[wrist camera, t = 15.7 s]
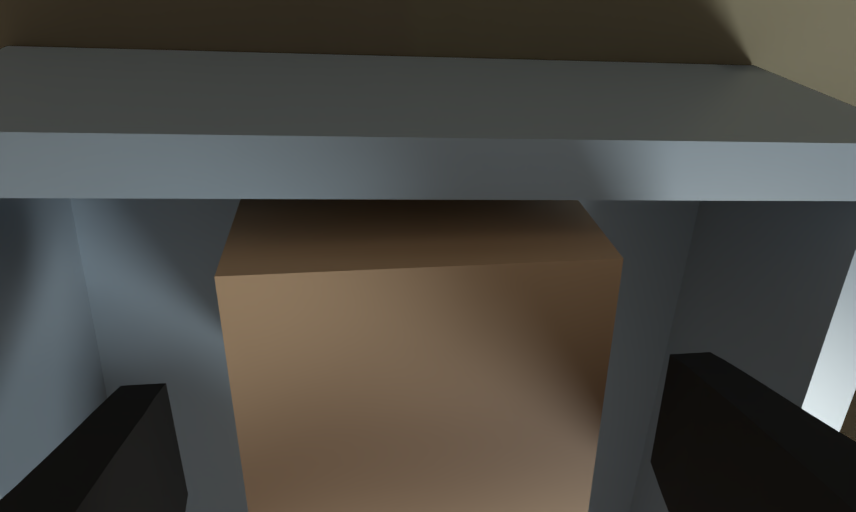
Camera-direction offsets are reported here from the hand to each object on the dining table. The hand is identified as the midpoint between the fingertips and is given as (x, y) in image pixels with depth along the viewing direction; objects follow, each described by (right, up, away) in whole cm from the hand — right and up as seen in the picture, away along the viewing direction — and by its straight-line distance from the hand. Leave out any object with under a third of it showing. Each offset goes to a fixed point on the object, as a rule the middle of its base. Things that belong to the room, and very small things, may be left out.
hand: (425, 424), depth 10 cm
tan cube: (-1, +2, +4) cm, 5 cm away
